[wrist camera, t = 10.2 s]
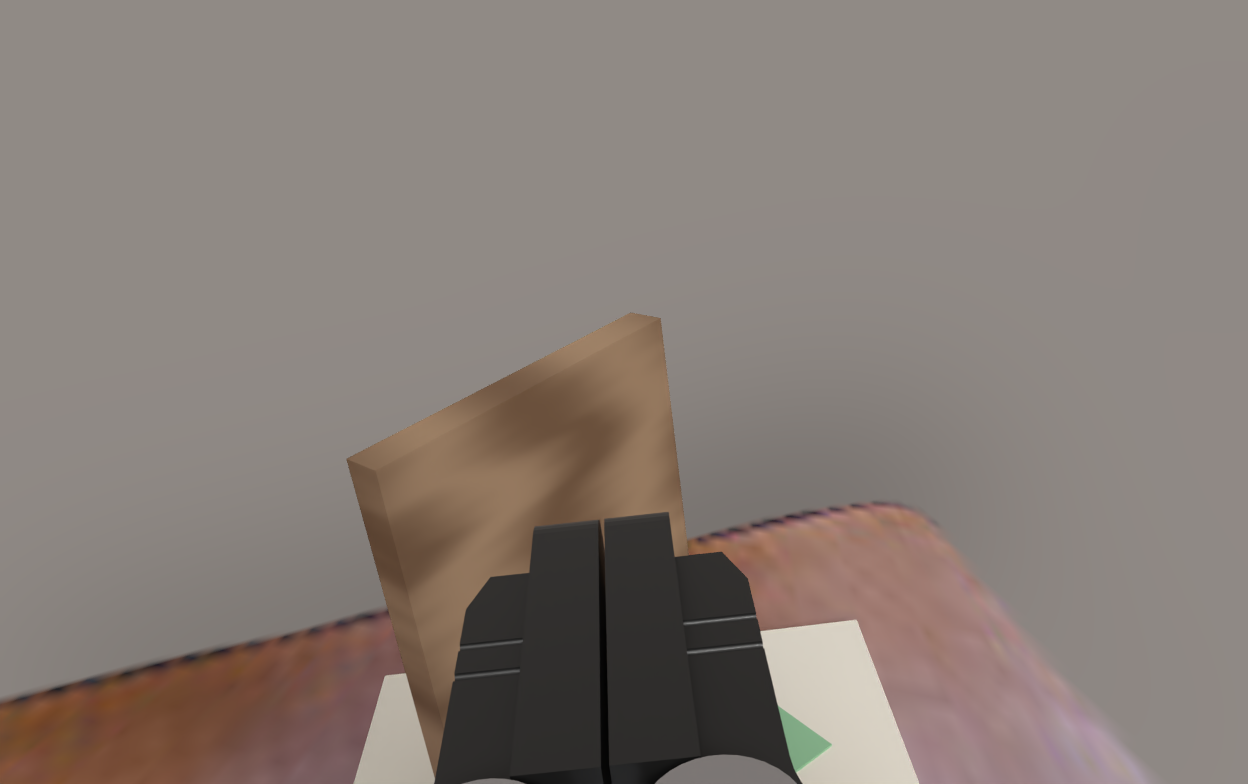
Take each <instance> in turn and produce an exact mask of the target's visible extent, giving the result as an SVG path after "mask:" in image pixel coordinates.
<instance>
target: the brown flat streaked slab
mask: <svg viewBox="0 0 1248 784" xmlns="http://www.w3.org/2000/svg"><path fill="white" fill-rule="evenodd" d="M347 463H348V466H349V470H350V474H351V477H352V481H353V484H354V488H355V492H356V495H357V499H358V502H359V506H360V510H361V513H362V517H363V521H364V524H365V527H366V531H367V535H368V539H369V542H370V546H371V549H372V553H373V556H374V560H375V564H376V567H377V571H378V575H379V578H380V582H381V586H382V589H383V593H384V596H385V600H386V604H387V607H388V611H389V614H390V618H391V622H392V625H393V629H394V633H395V636H396V640H397V643H398V647H399V651H400V654H401V658H402V661H403V665H404V669H405V672H406V676H407V680H408V683H409V687H410V690H411V694H412V698H413V701H414V705H415V708H416V712H417V716H418V719H419V723H420V726H421V730H422V734H423V737H424V741H425V745H426V748H427V752H428V755H429V759H430V763H431V766H432V770H433V773H434V777H435V776H436V771H437V765H438V760H439V754H440V749H441V743H442V738H443V732H444V727H445V721H446V716H447V710H448V705H449V699H450V694H451V688H452V683H453V681H455V676H454V672H455V667H456V661H457V656H458V651H460V639H461V634H462V628H463V623H464V617H465V612H466V608H467V607H468V606H469V604H470V603H471V602H472V601H473V599H474V598H475V597H476V595H477V594H478V593H479V591H480V590H481V589H482V587H483V586H484V585H485V583H486V582H487V581H488V580H489V578H490V577H494V576H504V575H513V574H522V573H529V570H530V559H531V549H532V538H533V530H534V527H535V526H544V525H553V524H563V523H572V522H581V521H590V520H600V524H601V529H602V535H603V541H604V549H605V538H604V519H607V518H616V517H625V516H634V515H643V514H653V513H662V512H669V518H670V525H671V533H672V541H673V548H674V556H675V557H678V556H687V555H689V553H688V545H687V537H686V528H685V520H684V511H683V503H682V495H681V486H680V478H679V469H678V462H677V453H676V444H675V437H674V428H673V419H672V412H671V402H670V394H669V386H668V378H667V369H666V360H665V353H664V344H663V335H662V327H661V319H660V318H657V317H652V316H646V315H641V314H635V313H629V314H627V315H625V316H623V317H621V318H619V319H618V320H616V321H614V322H612V323H610V324H608V325H606V326H604V327H602V328H600V329H598V330H596V331H594V332H592V333H590V334H588V335H586V336H584V337H583V338H581V339H579V340H577V341H575V342H573V343H571V344H569V345H567V346H565V347H563V348H561V349H559V350H557V351H555V352H554V353H551V354H549V355H547V356H546V357H544V358H542V359H540V360H538V361H536V362H534V363H532V364H530V365H528V366H526V367H524V368H522V369H520V370H518V371H517V372H515V373H512V374H511V375H509V376H507V377H505V378H503V379H501V380H499V381H497V382H495V383H493V384H491V385H489V386H487V387H485V388H483V389H481V390H479V391H477V392H476V393H474V394H472V395H470V396H468V397H466V398H464V399H462V400H460V401H458V402H456V403H454V404H452V405H450V406H448V407H446V408H444V409H442V410H441V411H439V412H437V413H435V414H433V415H431V416H429V417H427V418H425V419H423V420H421V421H419V422H417V423H415V424H413V425H412V426H409V427H407V428H406V429H404V430H402V431H400V432H398V433H396V434H394V435H392V436H390V437H388V438H386V439H384V440H382V441H380V442H378V443H376V444H374V445H373V446H371V447H369V448H367V449H365V450H363V451H361V452H359V453H357V454H355V455H353V456H351V457H349V458H347Z"/></svg>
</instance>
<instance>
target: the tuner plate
mask: <svg viewBox="0 0 1248 784" xmlns="http://www.w3.org/2000/svg"><path fill="white" fill-rule="evenodd" d="M760 632H761V637H762V641H763V648H764V649H765V654H766V658H767V662H768V666H769V670H770V675H771V679H772V683H773V687H774V691H775V696H776V700H777V704H778V708H779V712H780V717H781V721H782V725H783V729H784V734H785V738H786V742H787V746H788V750H789V755H790V758H791V761H792V764H793V767H794V770H795V772H796V773H797V775H798V777H799V779H800V781H801V782H802V783H803V784H919V781H918V779H917V776H916V774H915V771H914V768H913V766H912V763H911V761H910V758H909V755H908V753H907V750H906V748H905V745H904V742H903V740H902V737H901V735H900V732H899V729H898V727H897V724H896V722H895V719H894V716H893V714H892V711H891V708H890V706H889V703H888V701H887V698H886V695H885V693H884V690H883V688H882V685H881V682H880V680H879V677H878V675H877V672H876V669H875V667H874V664H873V662H872V659H871V656H870V654H869V651H868V649H867V646H866V643H865V641H864V638H863V636H862V633H861V630H860V628H859V625H858V622H857V620H851V621H843V622H834V623H826V624H817V625H809V626H800V627H792V628H784V629H775V630H767V631H760ZM434 782H435V777H434V773H433V770H432V766H431V763H430V759H429V755H428V752H427V748H426V745H425V741H424V737H423V734H422V730H421V726H420V723H419V719H418V716H417V712H416V708H415V705H414V701H413V698H412V694H411V690H410V687H409V683H408V680H407V676H406V673H403V674H395V675H386V676H385V678H384V681H383V685H382V688H381V692H380V695H379V698H378V702H377V705H376V709H375V712H374V716H373V719H372V722H371V726H370V729H369V733H368V736H367V740H366V743H365V747H364V750H363V753H362V757H361V760H360V764H359V767H358V771H357V774H356V777H355V781H354V784H434Z"/></svg>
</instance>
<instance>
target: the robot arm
mask: <svg viewBox="0 0 1248 784" xmlns="http://www.w3.org/2000/svg"><path fill="white" fill-rule="evenodd" d="M604 538H605V549H604V541H603V535H602V529H601V524H600V520H590V521H581V522H572V523H563V524H553V525H544V526H535V527H534V530H533V538H532V549H531V559H530V570H529V573H522V574H513V575H504V576H494V577H490V578H489V580H488V581H487V582H486V583H485V585H484V586H483V587H482V589H481V590H480V591H479V593H478V594H477V595H476V597H475V598H474V599H473V601H472V602H471V603H470V604H469V606H468V607H467V608H466V612H465V617H464V623H463V628H462V634H461V639H460V651H458V656H457V661H456V667H455V672H454V676H455V681H453V683H452V688H451V694H450V699H449V705H448V710H447V716H446V721H445V727H444V732H443V738H442V743H441V749H440V754H439V760H438V765H437V771H436V776H435V782H434V784H803V783H802V782H801V781H800V779H799V777H798V775H797V773H796V772H795V770H794V767H793V764H792V761H791V758H790V755H789V750H788V746H787V742H786V738H785V734H784V729H783V725H782V721H781V717H780V712H779V708H778V704H777V700H776V696H775V691H774V687H773V683H772V679H771V675H770V670H769V666H768V662H767V658H766V654H765V649H764V648H763V641H762V637H761V632H760V628H759V624H758V620H757V618H756V611H755V607H754V603H753V599H752V595H751V590H750V586H749V582H748V578H747V577H746V576H745V575H744V574H743V573H742V572H741V571H740V570H739V569H738V568H737V567H736V566H735V565H734V564H733V563H732V562H731V561H730V560H729V559H728V558H727V557H726V556H725V555H724V554H723V553H722V552H715V553H706V554H697V555H687V556H678V557H675V556H674V548H673V541H672V533H671V525H670V518H669V512H662V513H653V514H643V515H634V516H625V517H616V518H607V519H604Z"/></svg>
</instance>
